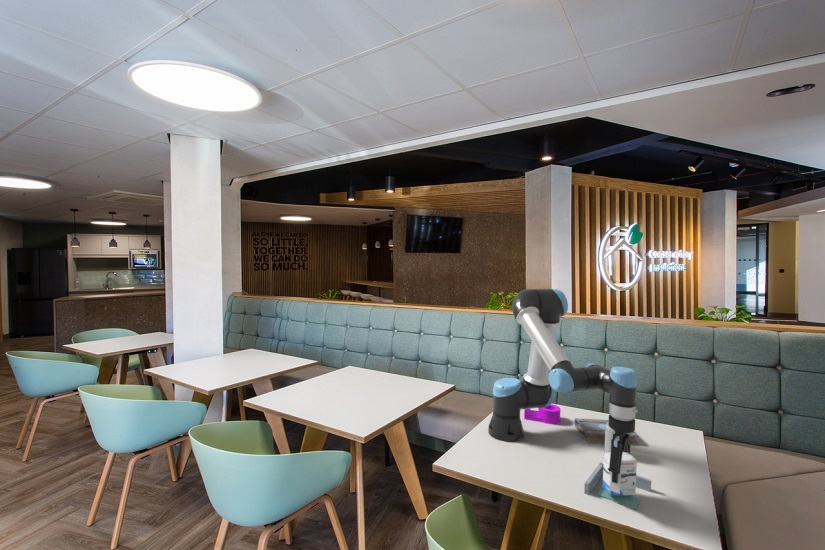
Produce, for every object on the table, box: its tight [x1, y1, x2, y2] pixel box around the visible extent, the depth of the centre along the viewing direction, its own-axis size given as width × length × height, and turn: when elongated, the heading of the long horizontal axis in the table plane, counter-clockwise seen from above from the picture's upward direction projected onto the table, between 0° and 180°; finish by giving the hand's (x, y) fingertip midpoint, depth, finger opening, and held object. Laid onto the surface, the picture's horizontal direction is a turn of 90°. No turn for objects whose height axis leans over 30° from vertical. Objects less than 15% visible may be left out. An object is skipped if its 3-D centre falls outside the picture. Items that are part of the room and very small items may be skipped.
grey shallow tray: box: [573, 417, 640, 445], centre depth 171 cm, size 21×16×5 cm
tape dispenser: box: [523, 403, 562, 425], centre depth 187 cm, size 16×10×6 cm, turn 68°
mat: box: [597, 486, 641, 510], centre depth 126 cm, size 11×7×1 cm, turn 49°
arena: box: [583, 462, 652, 495], centre depth 129 cm, size 16×17×4 cm
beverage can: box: [604, 422, 615, 453], centre depth 154 cm, size 6×6×12 cm
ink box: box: [602, 452, 638, 496], centre depth 126 cm, size 8×5×12 cm, turn 94°
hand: (619, 484), depth 126 cm, fingers closed on ink box, 9 cm apart
